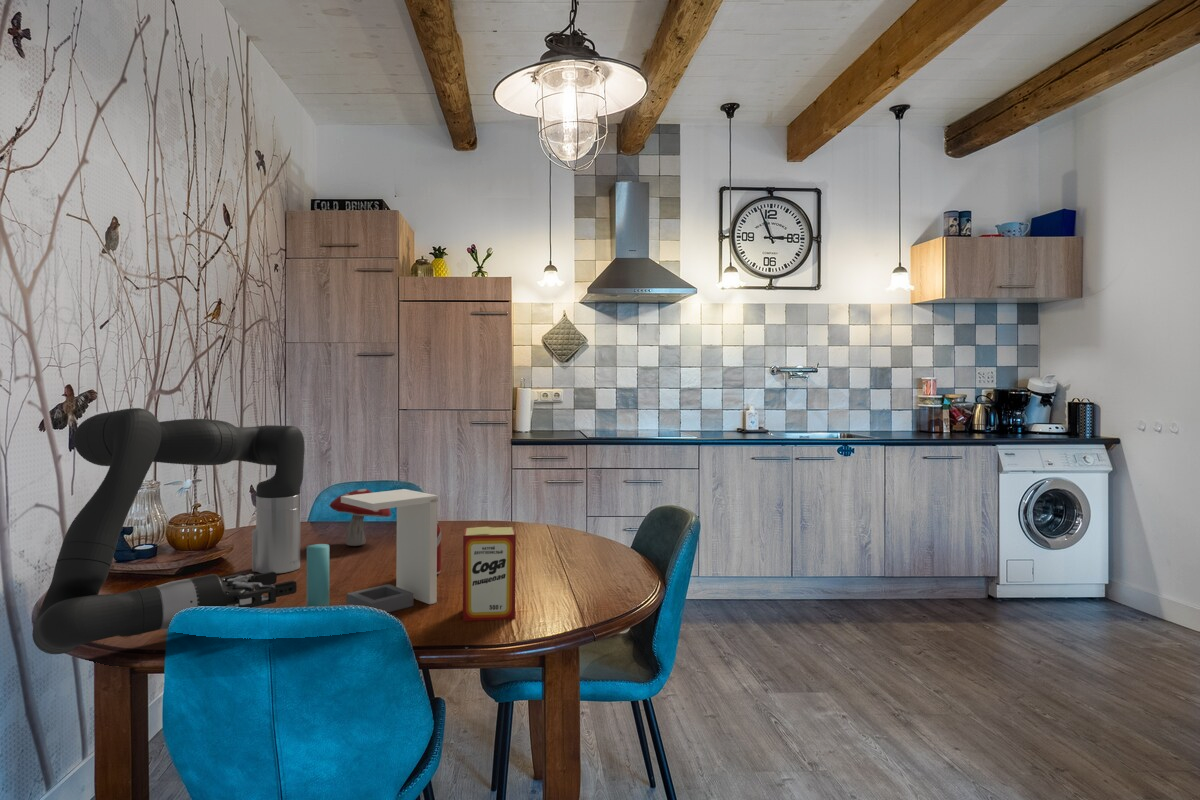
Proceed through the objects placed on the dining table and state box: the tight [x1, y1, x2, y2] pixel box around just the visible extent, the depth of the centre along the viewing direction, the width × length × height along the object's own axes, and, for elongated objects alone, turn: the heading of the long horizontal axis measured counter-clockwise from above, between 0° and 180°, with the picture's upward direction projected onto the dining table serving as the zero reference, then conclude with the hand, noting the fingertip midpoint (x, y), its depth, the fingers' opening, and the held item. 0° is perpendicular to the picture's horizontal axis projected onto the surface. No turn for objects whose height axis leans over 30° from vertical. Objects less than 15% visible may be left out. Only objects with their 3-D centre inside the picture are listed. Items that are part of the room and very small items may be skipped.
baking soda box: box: [462, 526, 517, 622], centre depth 130 cm, size 10×6×16 cm
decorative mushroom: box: [329, 488, 392, 547], centre depth 185 cm, size 16×16×15 cm
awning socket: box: [340, 488, 439, 613], centre depth 136 cm, size 14×12×21 cm
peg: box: [306, 543, 330, 607], centre depth 132 cm, size 4×4×12 cm
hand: (285, 581), depth 128 cm, fingers open, 8 cm apart
